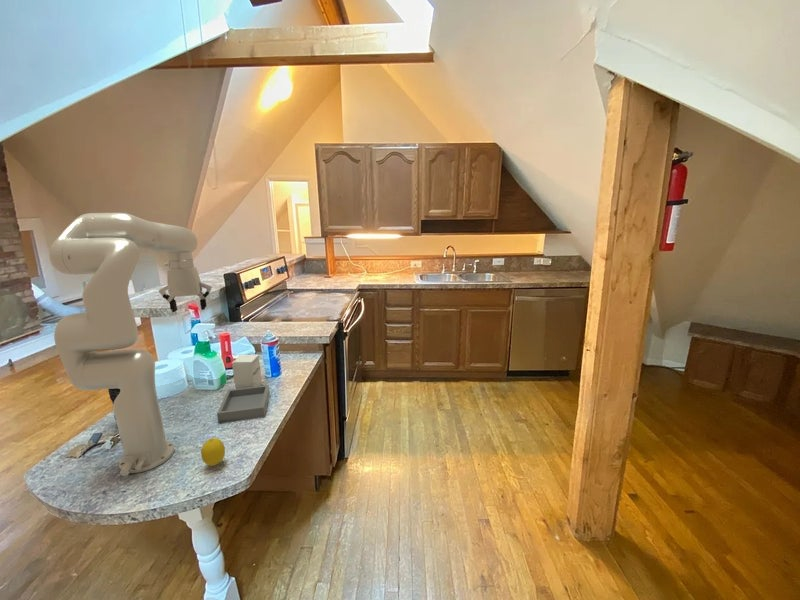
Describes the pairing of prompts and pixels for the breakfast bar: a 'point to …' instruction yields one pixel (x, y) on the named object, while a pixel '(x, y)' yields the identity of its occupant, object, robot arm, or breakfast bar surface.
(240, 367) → the supplement box
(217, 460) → the lemon
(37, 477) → the breakfast bar surface
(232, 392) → the tray
